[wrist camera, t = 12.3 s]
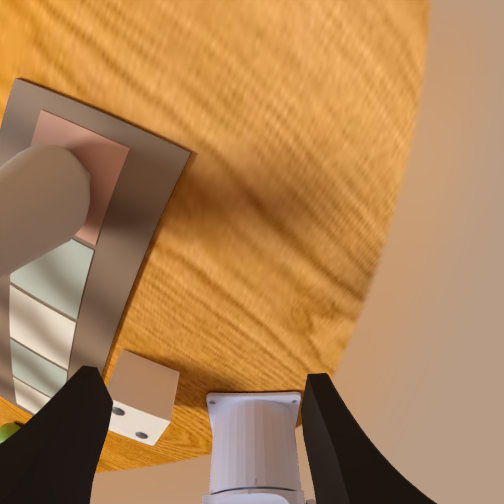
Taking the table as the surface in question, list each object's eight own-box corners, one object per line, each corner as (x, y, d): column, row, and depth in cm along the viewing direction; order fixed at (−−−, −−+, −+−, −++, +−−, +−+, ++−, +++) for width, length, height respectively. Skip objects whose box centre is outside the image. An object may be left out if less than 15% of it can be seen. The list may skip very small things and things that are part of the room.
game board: (84, 439, 31) (83, 442, 31) (-1, 392, 28) (-3, 395, 28) (191, 152, 16) (190, 153, 16) (17, 78, 13) (14, 78, 13)
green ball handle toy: (37, 444, 34) (15, 503, 23) (3, 421, 32) (-22, 479, 21) (43, 436, 32) (19, 501, 21) (6, 411, 30) (-23, 475, 19)
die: (162, 401, 26) (152, 446, 22) (111, 380, 25) (95, 424, 21) (180, 371, 24) (170, 422, 20) (122, 347, 23) (103, 396, 19)
